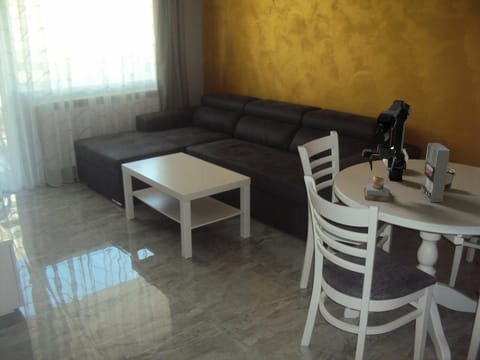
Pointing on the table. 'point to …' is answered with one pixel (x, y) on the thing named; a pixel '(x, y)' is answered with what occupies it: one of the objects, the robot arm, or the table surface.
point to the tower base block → (380, 198)
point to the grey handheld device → (435, 172)
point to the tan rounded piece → (378, 182)
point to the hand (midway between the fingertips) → (381, 171)
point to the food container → (449, 178)
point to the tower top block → (377, 190)
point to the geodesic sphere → (387, 160)
